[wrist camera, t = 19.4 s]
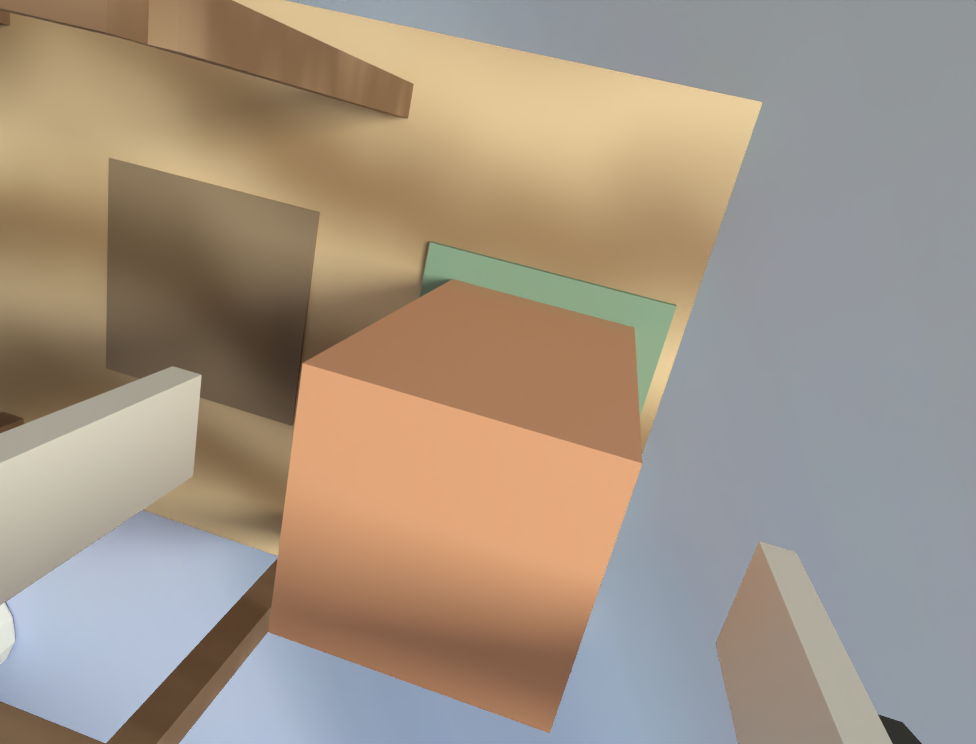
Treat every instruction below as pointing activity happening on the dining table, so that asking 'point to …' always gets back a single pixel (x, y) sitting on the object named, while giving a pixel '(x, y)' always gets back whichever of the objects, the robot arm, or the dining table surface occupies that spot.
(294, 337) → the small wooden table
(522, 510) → the block
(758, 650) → the robot arm
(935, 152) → the dining table surface
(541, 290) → the felt pad
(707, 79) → the dining table surface
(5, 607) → the white cup
